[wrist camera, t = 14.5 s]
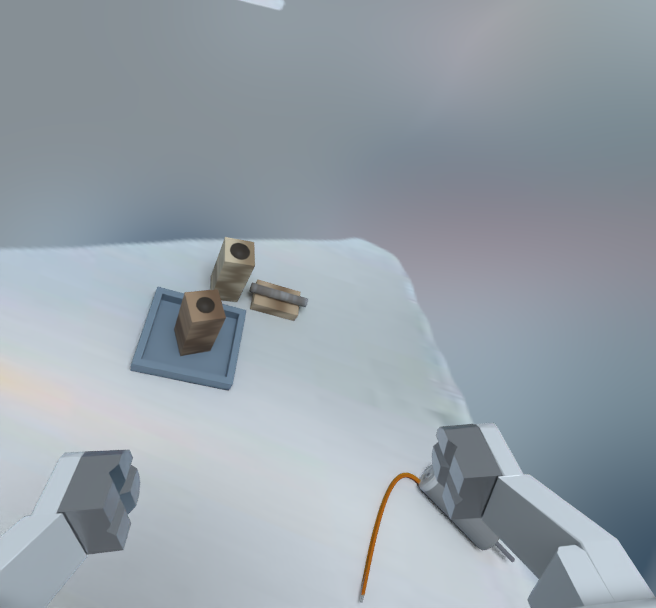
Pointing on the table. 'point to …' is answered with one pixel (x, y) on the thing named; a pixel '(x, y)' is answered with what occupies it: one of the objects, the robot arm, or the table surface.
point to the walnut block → (199, 321)
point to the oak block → (233, 268)
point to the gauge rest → (276, 300)
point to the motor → (434, 490)
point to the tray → (201, 368)
